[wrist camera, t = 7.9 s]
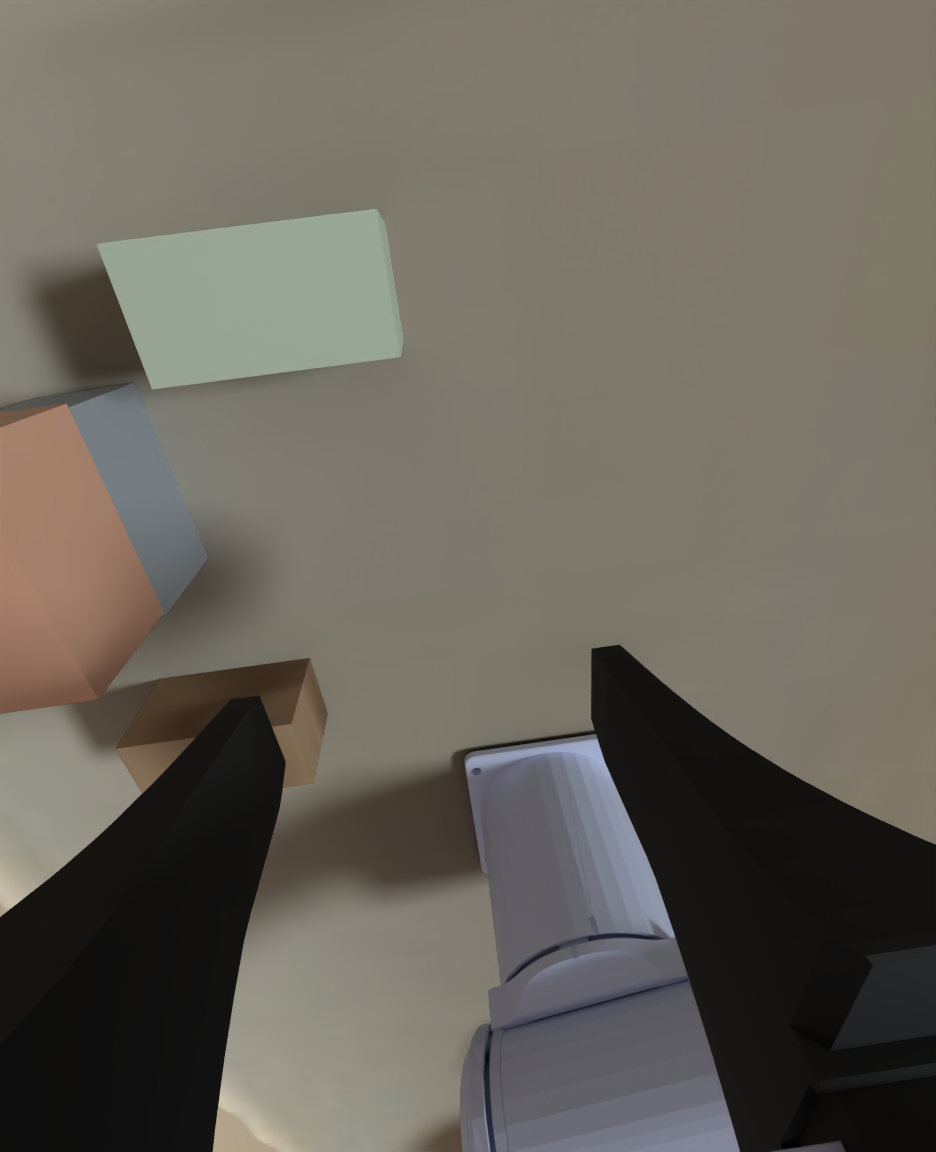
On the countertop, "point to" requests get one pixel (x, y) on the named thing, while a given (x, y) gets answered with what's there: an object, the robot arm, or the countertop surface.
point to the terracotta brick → (62, 568)
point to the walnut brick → (198, 699)
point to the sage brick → (258, 298)
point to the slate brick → (136, 483)
